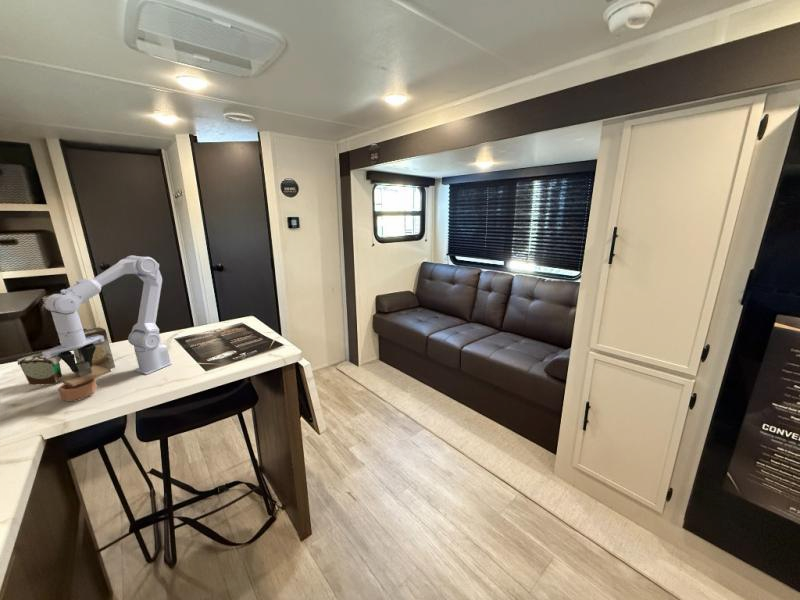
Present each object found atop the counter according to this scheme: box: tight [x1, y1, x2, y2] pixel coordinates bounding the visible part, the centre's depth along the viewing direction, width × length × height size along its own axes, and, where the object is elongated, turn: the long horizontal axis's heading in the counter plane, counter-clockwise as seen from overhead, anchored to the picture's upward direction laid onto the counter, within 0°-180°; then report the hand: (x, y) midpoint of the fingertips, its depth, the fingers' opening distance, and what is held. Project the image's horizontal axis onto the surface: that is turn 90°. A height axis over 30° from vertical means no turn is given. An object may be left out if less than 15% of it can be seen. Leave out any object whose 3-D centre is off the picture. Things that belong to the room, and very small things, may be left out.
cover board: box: [57, 361, 112, 386], centre depth 105 cm, size 10×10×5 cm
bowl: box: [57, 378, 98, 402], centre depth 106 cm, size 8×8×4 cm
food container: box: [16, 352, 63, 386], centre depth 115 cm, size 12×6×10 cm, turn 92°
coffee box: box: [72, 326, 116, 370], centre depth 121 cm, size 9×6×16 cm
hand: (82, 369), depth 105 cm, fingers closed on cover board, 3 cm apart
